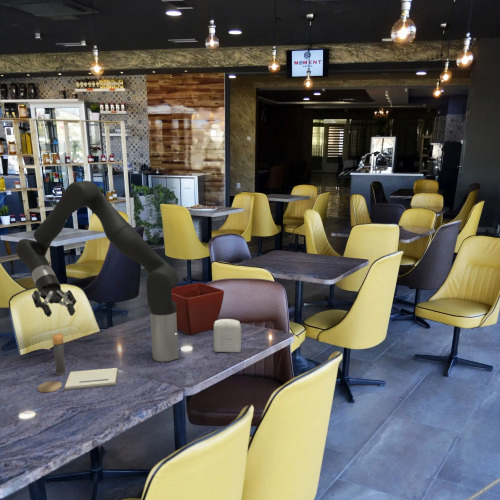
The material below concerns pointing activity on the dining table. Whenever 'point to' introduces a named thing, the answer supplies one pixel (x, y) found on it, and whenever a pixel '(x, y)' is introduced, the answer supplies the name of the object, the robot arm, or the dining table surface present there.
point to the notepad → (91, 379)
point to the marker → (59, 354)
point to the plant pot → (197, 307)
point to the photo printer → (227, 335)
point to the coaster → (50, 386)
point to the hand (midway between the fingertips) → (61, 314)
